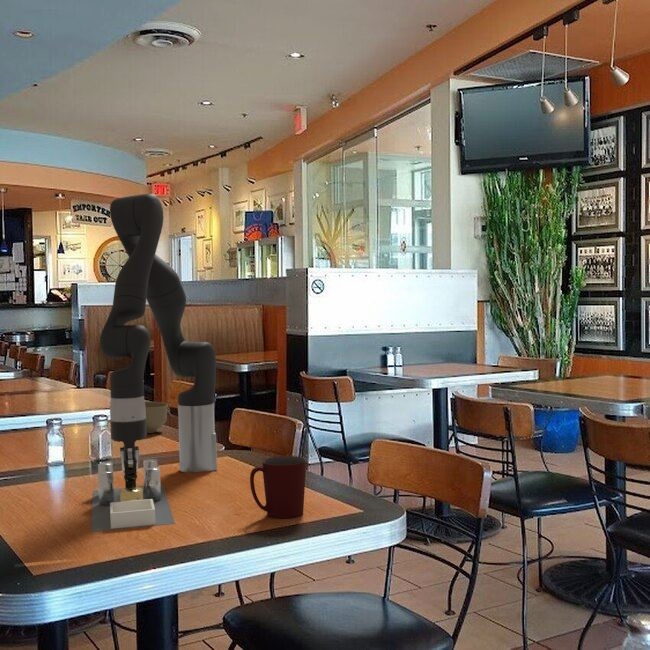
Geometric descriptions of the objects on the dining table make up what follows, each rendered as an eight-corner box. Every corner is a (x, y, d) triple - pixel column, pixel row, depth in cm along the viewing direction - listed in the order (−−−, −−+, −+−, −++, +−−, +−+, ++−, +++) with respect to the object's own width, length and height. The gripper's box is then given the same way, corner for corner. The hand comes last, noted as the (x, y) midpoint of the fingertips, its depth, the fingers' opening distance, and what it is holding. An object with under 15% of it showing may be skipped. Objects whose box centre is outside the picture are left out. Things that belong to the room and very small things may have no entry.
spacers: (157, 488, 188) (157, 458, 188) (161, 501, 177) (160, 469, 176) (99, 493, 185) (98, 463, 185) (98, 506, 173) (97, 474, 173)
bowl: (164, 435, 262) (163, 405, 262) (125, 436, 262) (124, 405, 262) (172, 429, 275) (171, 399, 274) (135, 429, 275) (134, 400, 274)
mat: (163, 486, 192) (163, 484, 192) (175, 526, 159) (175, 523, 159) (93, 492, 188) (93, 490, 188) (90, 534, 155) (90, 531, 155)
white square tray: (152, 513, 167) (152, 498, 167) (155, 524, 159) (155, 509, 159) (110, 517, 165) (110, 502, 165) (110, 528, 157) (110, 513, 157)
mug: (261, 525, 159) (260, 469, 158) (242, 514, 166) (241, 461, 166) (314, 515, 165) (313, 461, 164) (294, 505, 172) (292, 454, 172)
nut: (143, 504, 174) (142, 486, 174) (143, 510, 169) (143, 491, 169) (120, 506, 173) (119, 488, 173) (120, 512, 168) (119, 493, 168)
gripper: (147, 421, 169) (150, 502, 170) (144, 411, 182) (147, 487, 183) (110, 423, 167) (113, 506, 168) (109, 414, 180) (112, 490, 181)
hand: (131, 496), depth 175 cm, fingers closed
